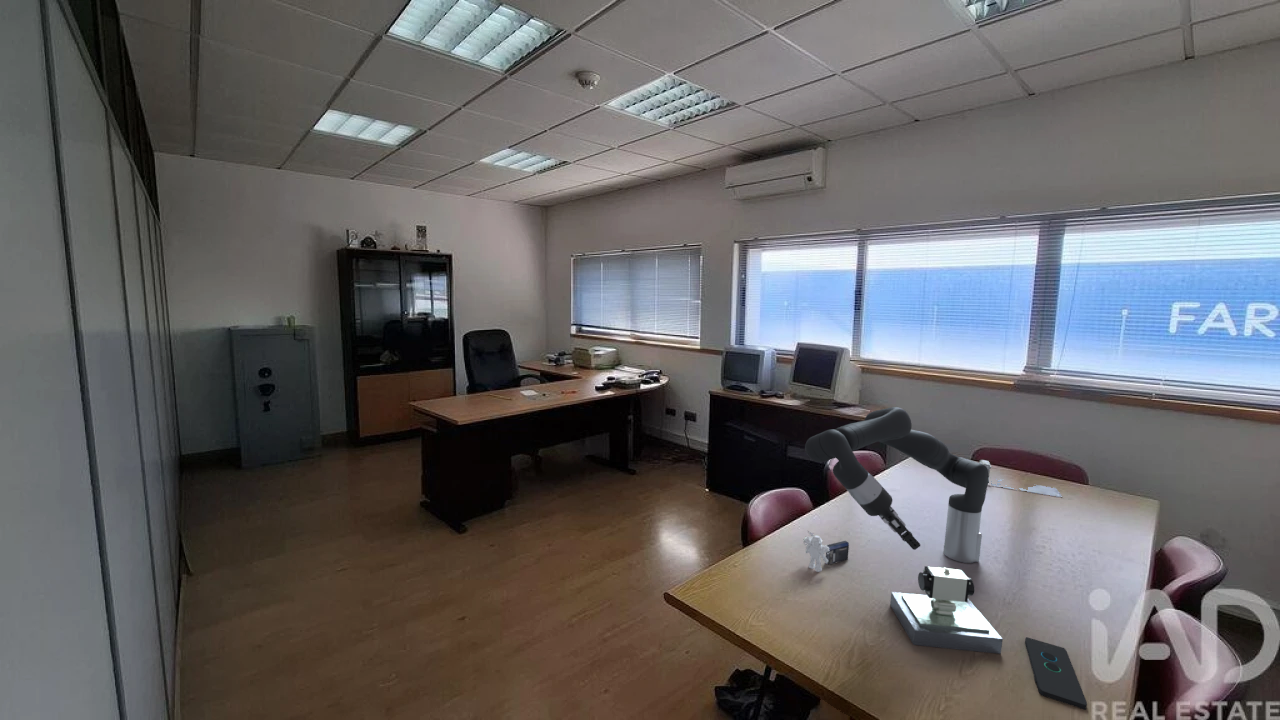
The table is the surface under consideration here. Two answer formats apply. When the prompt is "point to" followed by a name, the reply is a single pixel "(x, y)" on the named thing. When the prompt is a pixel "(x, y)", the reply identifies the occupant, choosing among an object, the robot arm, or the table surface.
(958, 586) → the pneumatic valve
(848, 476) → the robot arm
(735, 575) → the table surface
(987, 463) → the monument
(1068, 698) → the smart home device
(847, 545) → the mini dv tape
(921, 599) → the grey picture frame
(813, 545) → the hat wearing toy figure
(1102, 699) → the table surface
